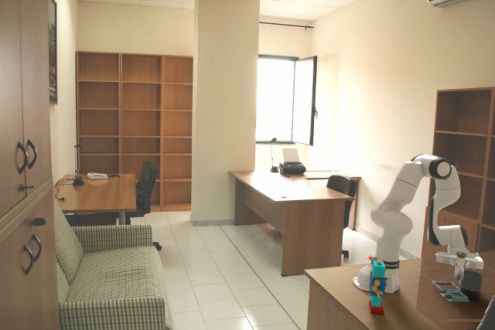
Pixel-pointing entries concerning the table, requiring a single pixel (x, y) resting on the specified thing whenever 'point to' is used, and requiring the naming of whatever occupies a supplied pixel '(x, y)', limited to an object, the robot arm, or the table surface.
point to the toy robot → (377, 287)
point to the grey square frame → (445, 283)
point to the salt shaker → (460, 265)
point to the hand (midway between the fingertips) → (460, 265)
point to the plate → (455, 296)
